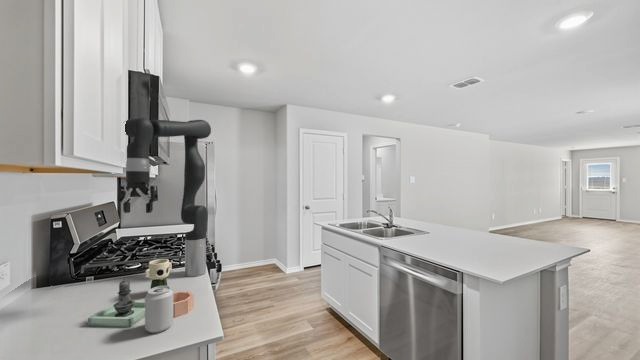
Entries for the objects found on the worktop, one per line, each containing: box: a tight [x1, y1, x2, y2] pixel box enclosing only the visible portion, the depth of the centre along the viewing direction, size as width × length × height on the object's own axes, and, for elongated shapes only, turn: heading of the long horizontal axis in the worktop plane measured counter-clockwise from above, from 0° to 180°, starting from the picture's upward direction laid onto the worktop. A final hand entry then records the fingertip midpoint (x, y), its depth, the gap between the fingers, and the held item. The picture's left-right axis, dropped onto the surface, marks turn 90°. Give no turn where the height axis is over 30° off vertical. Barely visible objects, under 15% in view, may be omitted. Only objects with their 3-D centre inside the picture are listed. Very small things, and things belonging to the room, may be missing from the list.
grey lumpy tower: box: [113, 277, 136, 317], centre depth 89 cm, size 6×6×12 cm
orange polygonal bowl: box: [173, 290, 195, 319], centre depth 94 cm, size 10×10×4 cm
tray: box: [87, 300, 145, 328], centre depth 89 cm, size 12×14×2 cm
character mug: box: [144, 258, 173, 290], centre depth 107 cm, size 11×7×13 cm, turn 157°
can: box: [144, 285, 174, 334], centre depth 82 cm, size 8×8×12 cm
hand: (137, 212), depth 102 cm, fingers open, 8 cm apart
